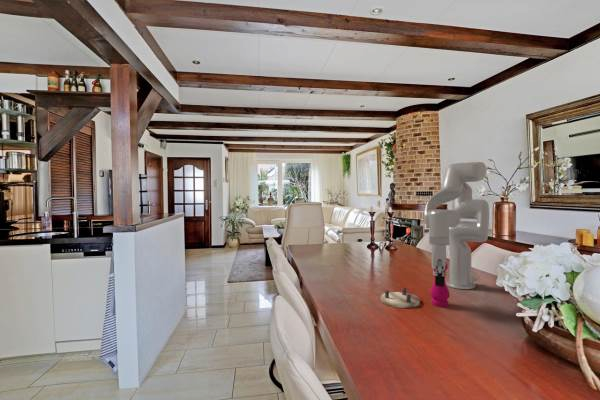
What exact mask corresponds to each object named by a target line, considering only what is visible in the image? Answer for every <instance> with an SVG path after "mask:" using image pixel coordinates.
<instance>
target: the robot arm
mask: <svg viewBox="0 0 600 400" xmlns="http://www.w3.org/2000/svg"><path fill="white" fill-rule="evenodd" d="M486 175H487V166H486V164H485V163H484V162H482V161H473V162H470V161H469V162H459V163H458V162H457V163H452V164H450V165H447V168H445V172H444V176H443V181H442V184H441V188H440V190H438V191H437V192H435V193H434V194H433V195H432V196H431V197H430V198H429V199H428V200H427V202H426V205H425V207H424V211H423V216H422V217H423V219H422V221H423V223H424V224H425V225H426V227H427V226H428V229H429V230H428V231H429V233H428V234H429V236H428V238H429V239H428V240H429V241H428V245H431V270H433V271H434V269H436V275H435V285H436V286H442V287H444V274H443V270H445V266H446V263H447V246H449V247H448V248H449V249H448V250H449V253H448V254H449V255H448V256H449V280H447V281H445V283H446V286H447V287H449V288H453V289H458V290H473V289H476V284H475V283H474V282H477V281H478V280H479V277H478V276H477V275H475V276H472V249H471V247H470V245H469V244H468V243H467V242H471V243H474V242H475V243H485V242H486V241H487V240H488V238H489V231H490V230H489V229H490V228H489V227H490V206H489V203H488V202H487V201H486V200H485V199H477V198H475V199H473V189H472V187H471V186H470V185H469V184H468V183H476V182H480V181H482V180H484V179H485V177H486ZM451 201H452V206H451V209H445V208H444V209H442V208H441V209H437V208H438V207H439V206H441V205H443V204H447V203H450V202H451ZM461 219H463V220H461ZM467 220H468V221H467ZM469 220H477V221H469ZM443 267H444V268H443Z"/></svg>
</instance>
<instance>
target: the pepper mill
mask: <svg viewBox="0 0 600 400" xmlns="http://www.w3.org/2000/svg"><path fill="white" fill-rule="evenodd" d="M443 268H444V267H443ZM448 268H449V265H448V263H447V262H446V266H445V270H443V274H444V287H442V286H436V285H435V275H436V269H434V270H433V271H432V272H433V273H432V275H433V277H434V278H433V279H434V280H433V284H432V286H431V287H430V291H429V292H430V293H429V294H430V296H431V305H432V306H435V307H438V308H447V307H449V300H448V299H449V298H450V296H451V295H450V291H449V289H448V286H447V285H446V276H447V270H448Z"/></svg>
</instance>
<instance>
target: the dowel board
mask: <svg viewBox="0 0 600 400" xmlns="http://www.w3.org/2000/svg"><path fill="white" fill-rule="evenodd" d="M401 288H402V289H401V290H402V291H401V292H400V291H395V292H394V291H389V290H388V289H384V293H382V294H381V295H380V296H379V297H380V299H379V300H380V303H382V304H383V305H385V306H388V307H393V308H399V309H414V308H417V307H419V306H420V305H421V298H420V297H419V296H417V295H415V294H412V293H408V292H407V287H405V286H403V287H401Z"/></svg>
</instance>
